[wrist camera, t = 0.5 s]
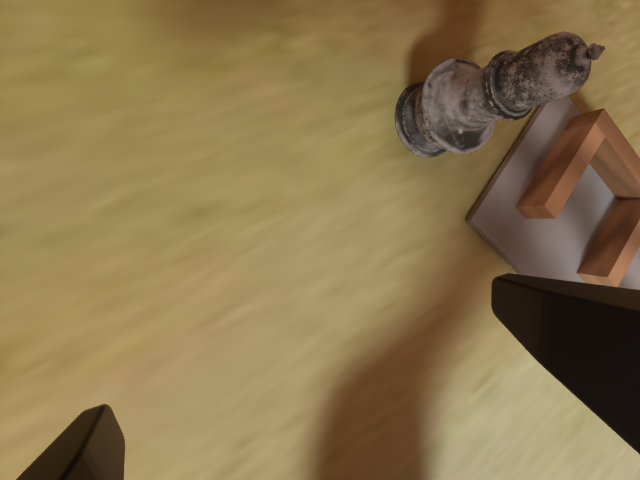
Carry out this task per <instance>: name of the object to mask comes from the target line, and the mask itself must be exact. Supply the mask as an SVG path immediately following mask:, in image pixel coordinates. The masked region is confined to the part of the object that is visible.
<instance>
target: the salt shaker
mask: <svg viewBox="0 0 640 480" xmlns="http://www.w3.org/2000/svg"><path fill="white" fill-rule="evenodd" d="M604 49H605V47H604V46H601V45H596V44H595V43H594V44H591V45H590V46H589V48H588V47H587V45H586V44H585V42H584V41H583V40H582V39H581V38H580V37H579V36H578V35H576V34H573V33H569V32H560V33H556V34H553V35H550V36H548V37H546V38H544V39H542V40H540V41H538V42H536V43H534V44H532V45H530V46H528V47H526V48H524V49H522V50H520V51H518V52H516V51H511V50H506V51H502V52H500V53H498V54H497V55H495V56H494V57H493V58H492V60H491V61H490V62H489V64H488V65H487V66H485V67H483V68H480V67H479V66H478V65H476V64H475V63H474V62H472V61H469V60H467V59H464V58H451V59H448V60H444V61H443V62H441V63H440V64H438V65H437V66H435V67H434V68H433V70H432V71H431V72H430V73H429V75H428V76H427V79H426V81H425V82H419V83H416V84H413V85H412V86H410V87H409V88H407V89H406V90H405V91H404V92H403V94H402V95H401V96H400V98H399V100H398V103H397V105H396V111H395V125H396V129H397V132H398V135H399V137H400V139H401V141H402V142H403V144H404V145H405V146H406V147H407V148H408V149H409V150H410V151H411V152H413V153H414V154H416V155H418V156H422V157H435V156H438V155H441V154H442V153H444V152H445V151H446V150H448V151H450V152H454V153H457V154H463V153H470V152H473V151H475V150H478V149H479V148H480V147H482V146H483V145H484V144H485V143H486V142H487V141H488V139H489V138H490V137H491V135H492V133H493V131H494V128H495V125H496V122H497V120H499V119H502V118H505V119H508V120H518V119H521V118H524V117H525V116H526V115H527V114H529V112H530V111H531V110H532V108H533V107H535V106H538V105H541V104H545V103H548V102H551V101H554V100H557V99H560V98H563V97H566V96H569V95H572V94H573V93H575V92H577V91H578V90H579V89H580V88H581V87H582V86H583V85H584V83H585V82H586V80H587V79H588V77H589V74H590V69H591V59H592V60H597V59H598V58H599V56H600V55H601V54H602V52H603V51H604Z"/></svg>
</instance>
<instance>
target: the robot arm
mask: <svg viewBox="0 0 640 480" xmlns="http://www.w3.org/2000/svg"><path fill="white" fill-rule="evenodd" d="M491 307H492V310H493V313H494V314H495V316H496V317H497V318H498V319H499V320H500V321H501V322H502V324H503V325H504V326H505V327H506V328H507V329H508V330H509V331H510V332H511V333H512V334H513V335H514V337H515V338H516V339H517V340H518V341H519V342H520V343H521V344H522V345H523V346H524V347H525V349H526V350H527V351H528V352H529V353H530V354H531V355H532V356H533V357H534V358H535V359H536V360H537V361H538V362H539V363H540V364H541V365H542V366H543V367H544V368H545V369H546V370H547V371H548V372H550V373H551V374H552V375H553V376H554V377H555V378H556V379H557V380H558V381H560V382H561V383H562V384H563V385H564V386H565V387H566V388H567V389H568V390H569V391H571V392H572V393H573V394H574V395H575V396H576V397H577V398H578V399H579V400H580V401H582V402H583V403H584V404H585V405H586V406H587V407H588V408H589V409H590V410H591V411H593V412H594V413H595V414H596V415H597V416H598V417H599V418H600V419H601V420H602V421H604V422H605V423H606V424H607V425H608V426H609V427H610V428H611V429H612V430H613V431H615V432H616V433H617V434H618V435H619V436H620V437H621V438H622V439H623V440H625V441H626V442H627V443H628V444H629V445H630V446H631V447H632V448H633V449H634V450H636V451H637V452H638V453H639V454H640V290H636V289H628V288H620V287H613V286H605V285H597V284H589V283H582V282H574V281H566V280H558V279H551V278H543V277H535V276H527V275H520V274H512V273H507V274H504V275H501V276H498V277H495V278H494V279H493V281H492V291H491ZM124 460H125V440H124V436H123V433H122V431H121V429H120V426H119V424H118V422H117V420H116V418H115V415H114V413H113V411H112V409H111V408H110V406H109V405H106V404H103V405H100V406H97V407H94V408H90V409H87V410H85V411H83V412H82V413H81V414H80V415H79V416H78V417H77V418H76V419H75V420H74V421H73V422H72V423H71V424H70V425H69V426H68V427H67V428H66V429H65V430H64V431H63V432H62V433H61V434H60V435H59V436H58V437H57V438H56V439H55V440H54V441H53V442H52V443H51V444H50V445H49V446H48V447H47V449H46V450H45V451H44V452H43V453H42V454H41V455H40V456H39V457H38V458H37V459H36V460H35V461H34V462H33V463H32V464H31V465H30V466H29V467H28V468H27V469H26V470H25V471H24V472H23V473H22V474H21V475H20V476H19V477H18V478H17V479H16V480H124Z"/></svg>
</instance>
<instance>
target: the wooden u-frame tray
mask: <svg viewBox="0 0 640 480" xmlns="http://www.w3.org/2000/svg"><path fill="white" fill-rule="evenodd" d="M465 221H466V222H467V223H468V224H469V225H470V226H471V227H472V228H473V229H474V230H475V231H476V232H477V233H478V234H479V235H480V236H481V237H482V238H483V239H484V240H485V241H486V242H487V243H488V244H489V245H490V246H491V247H492V248H493V249H494V250H495V251H496V252H497V253H498V254H499V255H500V256H501V257H502V258H503V259H504V260H505V261H506V262H507V263H508V264H509V265H510V266H511V267H512V268H513V269H514V270H515V271H516V272H517V273H518V274H520V275H527V276H535V277H543V278H551V279H558V280H566V281H574V282H582V283H589V284H597V285H605V286H613V287H620V288H628V289H636V290H640V158H639V156H638V155H637V154H636V152H635V151H634V149H633V148H632V147H631V145H630V144H629V143H628V141H627V140H626V138H625V137H624V136H623V134H622V133H621V131H620V130H619V129H618V127H617V126H616V124H615V123H614V122H613V120H612V119H611V117H610V116H609V115H608V113H607V112H606V110H605V109H604V108H603V109H599V110H596V111H592V112H588V113H584V114H582V113H581V112H580V110H579V109H578V108H577V106H576V105H575V104H574V102H573V101H572V100H571V98H570V97H569V96H566V97H563V98H560V99H557V100H554V101H551V102H548V103H545V104H541V105H540V106H539V108H538V109H537V111H536V112H535V114H534V115H533V117H532V118H531V120H530V122H529V123H528V125H527V126H526V128H525V129H524V131H523V132H522V134H521V135H520V137H519V138H518V140H517V141H516V143H515V145H514V146H513V148H512V149H511V151H510V152H509V154H508V155H507V157H506V158H505V160H504V161H503V163H502V164H501V166H500V167H499V169H498V171H497V172H496V174H495V175H494V177H493V178H492V180H491V181H490V183H489V184H488V186H487V187H486V189H485V190H484V192H483V194H482V195H481V197H480V198H479V200H478V201H477V203H476V204H475V206H474V207H473V209H472V210H471V212H470V213H469V215H468V217H467V218H466V220H465Z"/></svg>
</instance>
